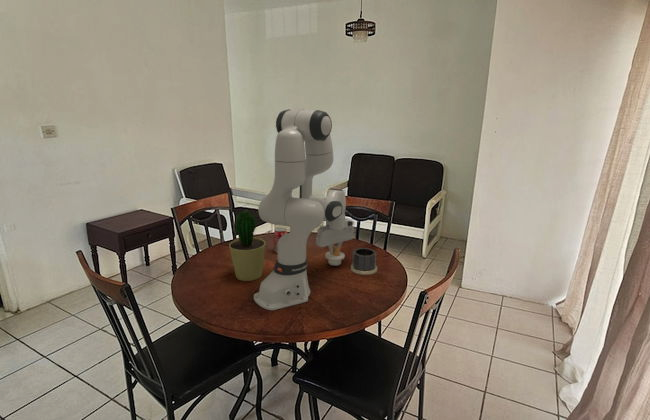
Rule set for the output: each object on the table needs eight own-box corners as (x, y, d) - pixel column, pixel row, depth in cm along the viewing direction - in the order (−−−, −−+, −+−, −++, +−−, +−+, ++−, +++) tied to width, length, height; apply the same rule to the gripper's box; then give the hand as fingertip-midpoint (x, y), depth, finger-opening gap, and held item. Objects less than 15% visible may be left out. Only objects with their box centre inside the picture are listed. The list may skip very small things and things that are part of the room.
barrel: (363, 277, 160) (364, 259, 158) (345, 268, 169) (345, 251, 167) (382, 270, 167) (383, 253, 165) (363, 262, 176) (364, 245, 174)
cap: (333, 268, 166) (333, 251, 164) (321, 262, 173) (321, 245, 170) (348, 263, 171) (348, 247, 169) (335, 257, 178) (336, 241, 176)
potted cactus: (259, 284, 153) (256, 215, 145) (224, 281, 156) (219, 213, 148) (271, 269, 167) (269, 206, 159) (240, 266, 170) (236, 204, 162)
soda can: (289, 249, 192) (288, 227, 188) (286, 254, 185) (285, 231, 182) (275, 248, 192) (275, 226, 189) (272, 253, 185) (271, 231, 182)
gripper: (322, 229, 158) (321, 259, 162) (356, 221, 171) (355, 249, 174) (313, 225, 163) (313, 254, 167) (347, 218, 176) (346, 245, 179)
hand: (335, 251), depth 171 cm, fingers closed on cap
